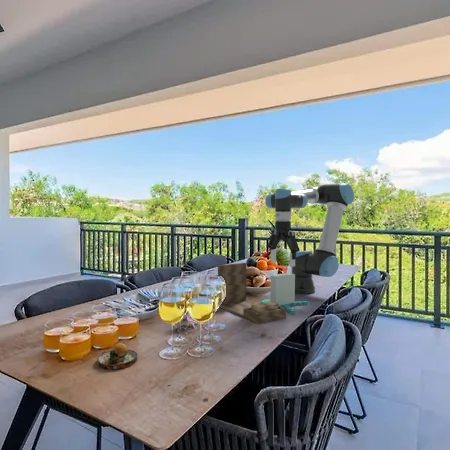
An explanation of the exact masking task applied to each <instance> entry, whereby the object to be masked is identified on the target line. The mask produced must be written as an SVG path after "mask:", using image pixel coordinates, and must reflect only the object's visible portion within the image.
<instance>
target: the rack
mask: <svg viewBox="0 0 450 450" xmlns="http://www.w3.org/2000/svg"><path fill="white" fill-rule="evenodd" d="M218 276H222V277H223V278H224V280H225V283H226V297H225V299H224V301H223V302H222V304H221V305H220V307H219V308H221V309H223V310H225V311H227V312H229V313H231V314H234V315H236V316H238V317H241V318H243V319H244V320H247V321H249V322H251V323H254V324H256V325H259V324H264V323H268V322H272V321H277V320H282V319H286V318H287V310H286V308H283V307H280V306H278V309H277V310H272V311H267V312H262V313H255V312H253V311H251V305H252V304H256V303H254V302H253V301H249V300H247V262H239V263H227V264H218V265H217V277H218Z"/></svg>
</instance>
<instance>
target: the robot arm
mask: <svg viewBox="0 0 450 450" xmlns="http://www.w3.org/2000/svg"><path fill="white" fill-rule="evenodd" d="M354 200H355V193H354V189H353V187H352V186H351V184H349V183H343V182H342V183H341V182H340V183H330V184H327V183H326V184H322V185H315V186H312V187H311V186H310V187H309V188H307V189H303V190H296V191H292V189H291V188H286V187H285V188H277V189H275V193H271V194H268V195H266V197H265V206H266V207H267V208H269V209H274V211H275V212H274V218H275V220H276V221H274V229H272V230H271V235H270V237H269V241H268V244H267V248H268V249H269V250H270V263H271V264H273V263H277V249H276V248H277V246H278V244H279V242H280V241H284V242H285V243H286V245H287V247H288V249H289V251H290V252H289V267H291V273H292V274H295V294H313V293H315V292H316V288H315V287H316V286H315V285H314V280H313V276H318V277H321V278H322V277H324V278H331V277H333V276H334V275H335V274H336V273H337V272H338V269H339V267H340V266H339V265H340V263H339V259H338V257H337V253H336V252H335V250H336V249H335V248H336V245H337V242H338V241H337V240H338V236H339V231H340V227H341V223H342V220H343V214H344V212H345V210H347V209H348V206H349V205H351V204H352V203H353V202H354ZM307 204H311V205H314V204H317V205H318V204H320V205H325V206H326V207H327V211H326V214H325V220H324V223H323V227H322V231H321V235H320V240H319V243H318V244H319V245H318V247H317V248H315V249H314V252H313V250H300V247H299V244H298V241H297V238H296V234H295V233H296V232H295V231H290V230H291V229H292V222H291V220H292V209H304V208H306V206H307Z"/></svg>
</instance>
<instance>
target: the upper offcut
mask: <svg viewBox="0 0 450 450" xmlns="http://www.w3.org/2000/svg"><path fill="white" fill-rule="evenodd" d="M277 309H278V303H275V302H272V301H269V302H263V303H261V302H259V303H255V304H252V305H251V311H254V312H256V313H262V312H267V311H272V310H277Z"/></svg>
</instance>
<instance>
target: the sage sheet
mask: <svg viewBox="0 0 450 450" xmlns="http://www.w3.org/2000/svg"><path fill="white" fill-rule="evenodd" d="M269 284H270V290H269V291H270V295H269V296H270V298H269V299H270V301H272V302H275V303H278V305H284V304H289V303H295V302H296V301H295V297H296V296H295V295H296V293H295V274H292V272H291V273H290V272H287V273H278V274H271V275H270V283H269Z"/></svg>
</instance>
